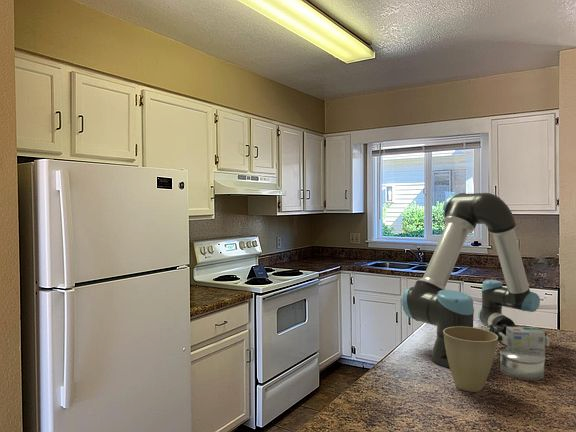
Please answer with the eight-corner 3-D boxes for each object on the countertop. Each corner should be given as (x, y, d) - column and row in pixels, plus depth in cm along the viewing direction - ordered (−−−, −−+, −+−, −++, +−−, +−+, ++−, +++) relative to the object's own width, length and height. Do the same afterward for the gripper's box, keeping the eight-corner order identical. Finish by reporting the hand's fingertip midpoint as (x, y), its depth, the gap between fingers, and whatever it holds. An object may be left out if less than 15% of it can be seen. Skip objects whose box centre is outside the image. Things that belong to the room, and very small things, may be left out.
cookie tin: (512, 381, 136) (512, 361, 136) (491, 365, 149) (492, 347, 149) (554, 380, 136) (554, 361, 136) (530, 365, 149) (530, 347, 149)
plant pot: (464, 400, 123) (464, 343, 122) (432, 379, 137) (433, 328, 136) (509, 394, 126) (510, 338, 126) (474, 374, 141) (474, 324, 140)
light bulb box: (536, 356, 157) (537, 326, 157) (545, 363, 151) (546, 331, 150) (504, 355, 158) (505, 325, 158) (512, 362, 152) (513, 331, 151)
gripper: (534, 334, 174) (565, 353, 153) (468, 334, 175) (490, 352, 154) (534, 315, 174) (565, 331, 153) (469, 315, 175) (490, 330, 154)
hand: (527, 342), depth 153 cm, fingers open, 13 cm apart
